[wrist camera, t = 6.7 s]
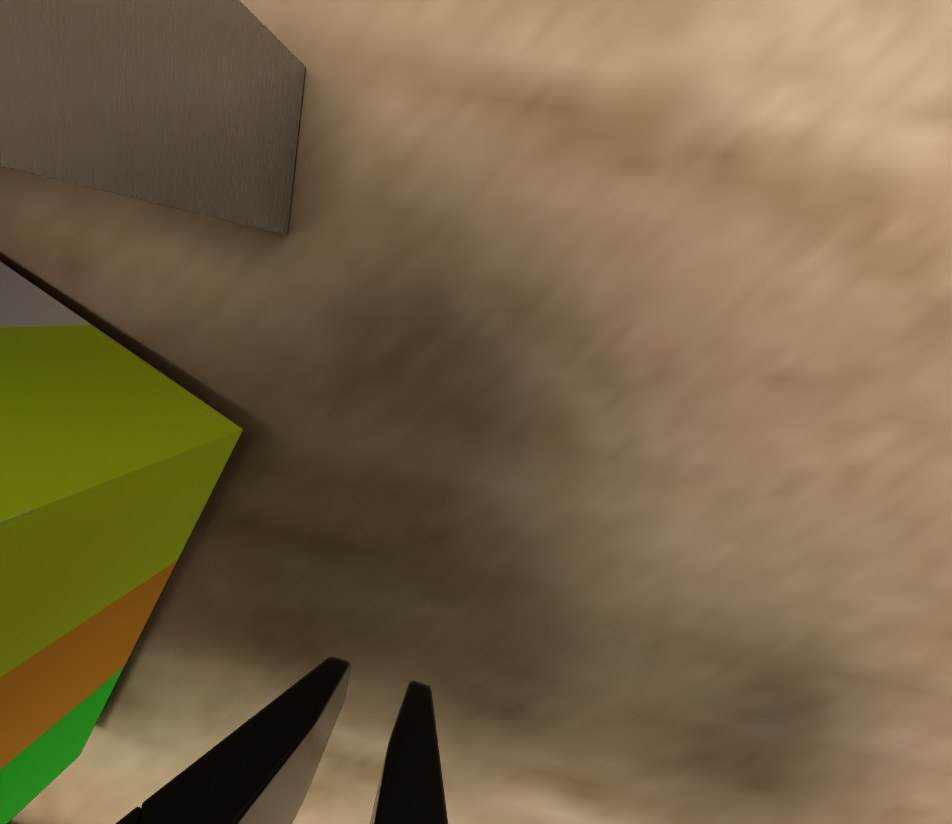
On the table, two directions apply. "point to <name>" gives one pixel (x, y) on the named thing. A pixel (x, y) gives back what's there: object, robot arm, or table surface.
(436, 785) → the robot arm
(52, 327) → the puzzle toy
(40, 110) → the grey rail base
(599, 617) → the table surface
